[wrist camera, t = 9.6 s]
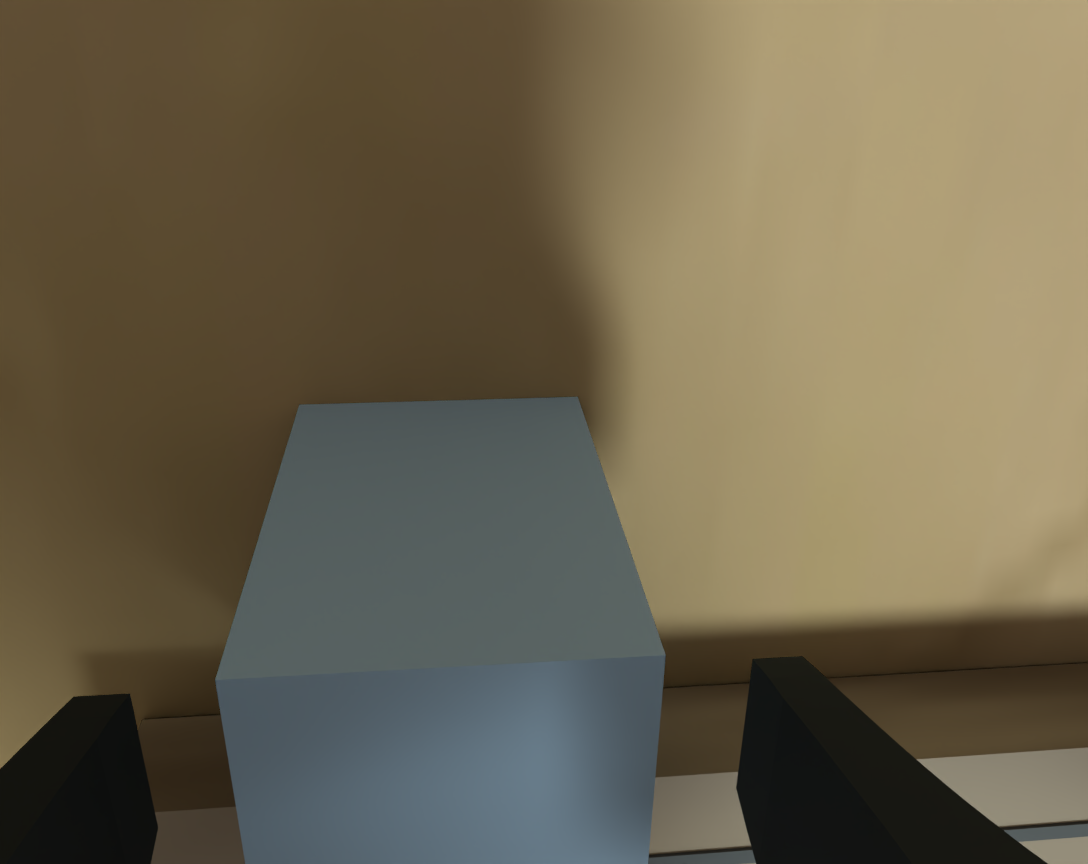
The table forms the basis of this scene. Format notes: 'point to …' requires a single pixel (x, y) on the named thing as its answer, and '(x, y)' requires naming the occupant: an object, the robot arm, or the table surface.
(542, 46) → the table surface
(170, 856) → the board
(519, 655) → the light blue block
